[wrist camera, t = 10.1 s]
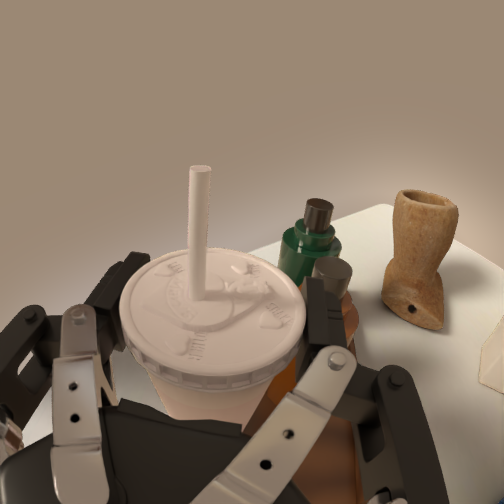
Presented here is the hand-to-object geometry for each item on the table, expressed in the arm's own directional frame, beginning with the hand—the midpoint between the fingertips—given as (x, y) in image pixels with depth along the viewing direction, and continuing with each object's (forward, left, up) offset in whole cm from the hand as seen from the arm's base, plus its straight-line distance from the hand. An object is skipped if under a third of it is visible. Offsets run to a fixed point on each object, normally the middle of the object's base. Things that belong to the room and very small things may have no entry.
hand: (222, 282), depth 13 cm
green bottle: (-4, +18, -17) cm, 25 cm away
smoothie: (+1, -2, -9) cm, 9 cm away
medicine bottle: (+25, +26, -18) cm, 40 cm away
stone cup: (+7, +33, -18) cm, 38 cm away
